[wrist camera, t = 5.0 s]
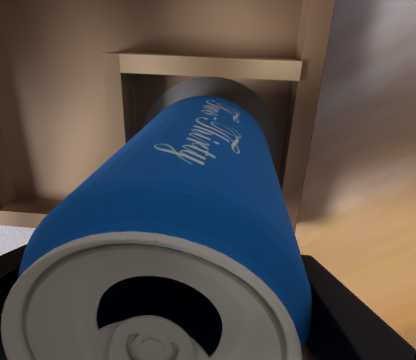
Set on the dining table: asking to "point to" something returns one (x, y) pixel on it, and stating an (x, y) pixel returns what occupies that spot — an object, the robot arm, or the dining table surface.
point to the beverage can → (167, 252)
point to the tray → (147, 84)
